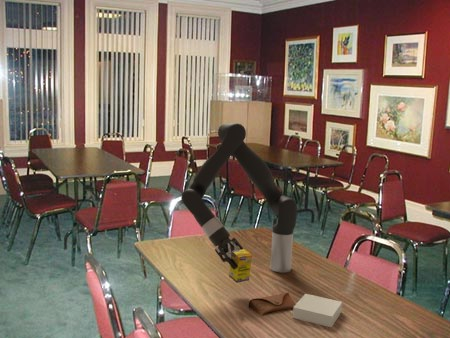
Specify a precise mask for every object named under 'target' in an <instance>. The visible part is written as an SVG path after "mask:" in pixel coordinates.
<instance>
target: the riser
mask: <svg viewBox="0 0 450 338" xmlns="http://www.w3.org/2000/svg"><path fill="white" fill-rule="evenodd" d="M295 304H296V305H295V306H294V307H293V309H292V319H296V320H300V321H303V322H304V321H305V322H308V323H312V324H316V325H321V326H325V327H327V328H328V327H329V328H332V327H333V326H334V324H335V322H336V321H337V320H338V318H339V317H340V315H341V314H342V312H343V311H342V309H343V301H340V300H334V299H331V298H326V297H321V296H318V295H312V294H309V293H308V294H307V293H305V294H304V295H303V296H302V297H301V298H300V299H299V300H298V302H296V303H295ZM340 313H341V314H340Z"/></svg>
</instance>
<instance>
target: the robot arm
mask: <svg viewBox="0 0 450 338" xmlns="http://www.w3.org/2000/svg"><path fill="white" fill-rule="evenodd" d="M246 134H247V130H246V128H245V127H244V125H242V124H241V123H238V122H224V123H221V124H220V125H219V127H218V129H217V136H218V139H219V140H220V142H221V144H220V145H219V147H218V148H217V149H216V150H215V152H214V153H212V155H211V156H210V157H208V158H207V159H206V160H205V161H204V163H202V165H201V166H200V168H199V170H198V171H197V173H196V174H195V175H194V178H193V181H192V183H191V185H190V187H189V188H187V189H184V191H183V192H182V194H181V196H180V198H181V202H182V203H183V205H184V206H185V207H186V209H187V210H188V211H189V213H191V215H192V216H193V217H194V219H195V221H196V222H197V223H198V225H199V227H200V228H202V231H203V233H204V234H205V236H207V238H208V240H210V242H211V243H212V244H213V246H214V247H216V248H215V249H214V252H216V254H217V256H218V257H219V259H220V260H221V261H222V262H223V263H225V262H226V263H228V264H229V267H230V266H231V267H232V268H233V269H236V268H237V267H238V265H237V264H236V262H235V261H234V260H233V259H232V257H231V252H232V251H237V250H243V249H244V247H243V246H242V245H241V244H240V242H239V241H238V240H237V239H236V237H233V238H232V239H230V236H231V234H230V233H229V231H228V230H227V228H226V227H225V226H224V224H223V223H222V222H221V221H220V220H219V218H217V216H216V215H215V214H214V212H213V211H212V210H211V209H210V207H208V206H207V204H206V203H205V202H204V200H203V198H204V196H205V195H206V192H207V190H208V189H209V187H210V186H211V184H212V183H213V181H214V179H216V176H217V175H218V173H219V172H220V170H221V169H222V168H223V166H224V165H225V163H226V162H228V160H229V158H230V157H232V155H233V157H235V159H236V161H237V163H238V164H239V165H240V167H241V168H242V169H243V171H244V172H245V174H246V175H247V177H248V178H249V179H250V181H251V182H252V184H253V185H254V186H255V187H256V189H258V192H260V193H261V194H262V196H263V197H264V199H265V200H266V203H267V204H268V206H269V209H271V211H272V213H274V215H276V216H277V223H275V224H274V225H273V226H272V231H271V232H272V235H271V236H272V237H271V251H270V252H271V253H270V264H269V265H270V266H269V268H270V270H271V271H273V272H276V273H281V274H282V273H289V272H291V270H292V258H293V241H294V240H293V239H294V231H295V228H296V225H297V224H296V223H297V219H298V218H297V217H298V216H297V215H298V205H297V201H296V200H294V199H293V198H291V197H288V196H286V195H284V194H283V192H281V190H280V189H279V188H278V187H277V185H276V183H275V180H274V176H273V173H272V171H271V170H270V168H269V166H268V165H267V163H266V162H265V160H264V159H263V158H262V157H260V155H258V154H257V153H256V152H255V151H254V150H252V149H251V148H250V147H249V146H248V145H247V144H246V142H245V138H246Z"/></svg>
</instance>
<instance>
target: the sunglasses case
mask: <svg viewBox="0 0 450 338" xmlns="http://www.w3.org/2000/svg"><path fill="white" fill-rule="evenodd" d="M296 304H297V303H296V302H295V301H294V300H293V298H292V297H291V295H290V293H289V292H285V293H282V294H276V295H270V296H269V295H268V296H265V297H260V298H257V297H256V298H252V299H250V300H249V301H248V308H249V310H252V311H253V312H255V313H256V314H257V315H259V316H260V317H261V316H265V315H268V314H269V315H270V314H274V313H279V312H283V311H288V310H289V311H290V310H293V307H294V306H295V305H296Z"/></svg>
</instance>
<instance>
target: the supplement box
mask: <svg viewBox="0 0 450 338" xmlns="http://www.w3.org/2000/svg"><path fill="white" fill-rule="evenodd" d="M252 256H253V255H252V254H251V253H250V252H249V251H248V250H246V249H244V248H243V250H237V251H232V252H231V257H232V259H233V260H234V261H235V262H236V264H237V265H238V267H237V268H236V269H233V268H232V267H231V266H230V265H229V272H228V277H229V278H231V279H232V281H234V282H235V283H238V284H239V283H242V282H248V281H249V280H250V276H251V268H252V267H251V266H252V258H253V257H252Z"/></svg>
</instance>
